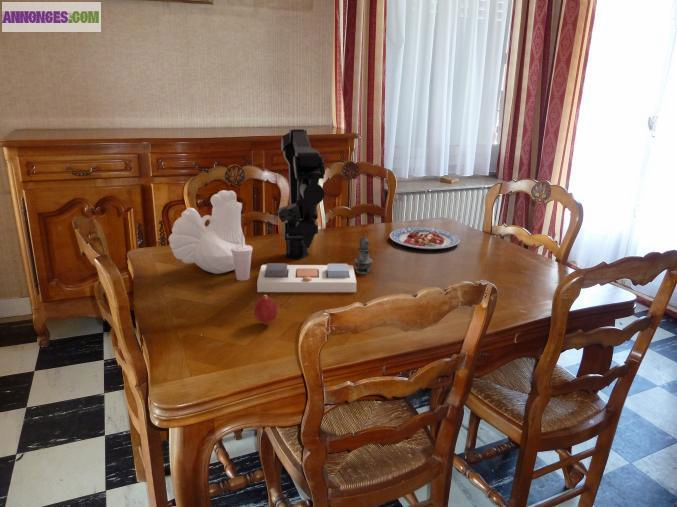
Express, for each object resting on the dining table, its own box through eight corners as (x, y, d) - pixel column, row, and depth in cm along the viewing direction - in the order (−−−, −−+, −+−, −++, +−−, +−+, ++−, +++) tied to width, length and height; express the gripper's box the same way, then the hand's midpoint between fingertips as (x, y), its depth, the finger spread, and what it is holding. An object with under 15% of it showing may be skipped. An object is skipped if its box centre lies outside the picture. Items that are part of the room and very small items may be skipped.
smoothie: (257, 276, 159) (256, 232, 155) (247, 283, 154) (245, 238, 149) (238, 273, 161) (236, 229, 157) (228, 280, 155) (225, 235, 151)
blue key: (327, 280, 152) (328, 270, 151) (327, 272, 158) (327, 263, 157) (348, 280, 152) (348, 270, 151) (347, 273, 158) (347, 263, 157)
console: (257, 291, 148) (257, 280, 147) (262, 274, 161) (261, 263, 160) (356, 292, 149) (356, 280, 148) (352, 274, 162) (353, 263, 161)
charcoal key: (265, 280, 151) (265, 270, 150) (267, 272, 157) (267, 263, 156) (286, 280, 151) (286, 270, 150) (287, 272, 157) (287, 263, 156)
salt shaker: (371, 275, 162) (372, 238, 158) (352, 273, 163) (353, 236, 159) (373, 268, 168) (375, 233, 164) (355, 267, 169) (356, 231, 165)
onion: (255, 319, 131) (254, 290, 129) (278, 318, 132) (277, 289, 129) (253, 330, 126) (252, 299, 123) (277, 329, 127) (277, 299, 124)
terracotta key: (296, 285, 152) (296, 275, 151) (297, 277, 158) (297, 268, 157) (317, 285, 152) (317, 275, 151) (317, 277, 158) (317, 268, 157)
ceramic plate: (391, 230, 210) (391, 223, 209) (456, 234, 206) (457, 227, 205) (387, 251, 185) (388, 243, 184) (461, 256, 182) (462, 247, 181)
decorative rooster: (235, 256, 176) (232, 183, 168) (256, 270, 164) (254, 192, 156) (160, 270, 162) (153, 191, 154) (178, 287, 150) (170, 202, 142)
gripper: (281, 188, 157) (281, 237, 163) (276, 204, 140) (277, 258, 145) (318, 189, 158) (317, 238, 163) (318, 204, 140) (317, 259, 146)
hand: (307, 247), depth 154 cm, fingers closed
